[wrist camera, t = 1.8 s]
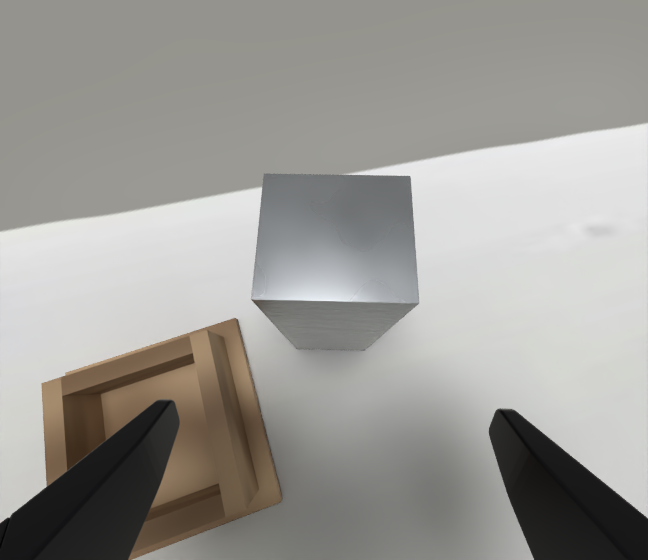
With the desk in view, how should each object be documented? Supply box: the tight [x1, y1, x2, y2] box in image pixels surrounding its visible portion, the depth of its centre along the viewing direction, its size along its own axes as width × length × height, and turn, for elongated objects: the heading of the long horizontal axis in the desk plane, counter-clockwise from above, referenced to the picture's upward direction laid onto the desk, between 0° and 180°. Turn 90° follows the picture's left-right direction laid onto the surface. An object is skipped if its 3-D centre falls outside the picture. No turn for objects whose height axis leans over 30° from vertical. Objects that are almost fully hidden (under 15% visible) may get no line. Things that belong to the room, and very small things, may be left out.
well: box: [42, 318, 282, 560], centre depth 18 cm, size 11×11×4 cm
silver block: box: [251, 174, 419, 351], centre depth 15 cm, size 4×4×13 cm
